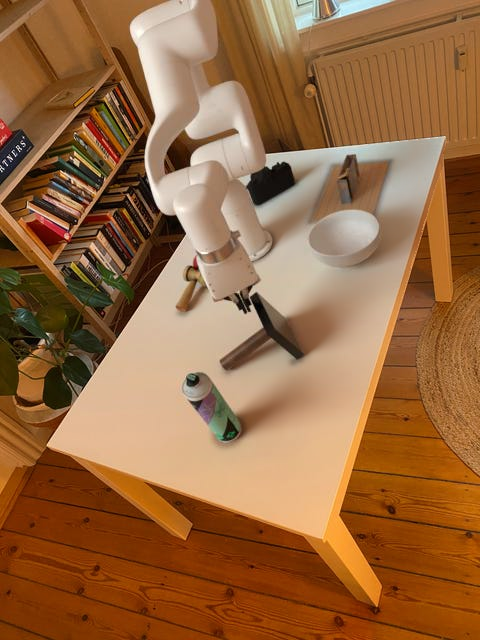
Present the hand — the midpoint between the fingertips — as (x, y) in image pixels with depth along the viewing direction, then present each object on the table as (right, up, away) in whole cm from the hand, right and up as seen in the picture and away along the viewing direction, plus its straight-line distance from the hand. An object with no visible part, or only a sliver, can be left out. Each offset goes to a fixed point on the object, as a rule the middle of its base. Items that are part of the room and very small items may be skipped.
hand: (246, 308), depth 105 cm
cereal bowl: (+25, +14, +15) cm, 33 cm away
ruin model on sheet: (+30, +33, +30) cm, 54 cm away
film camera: (+8, +37, +44) cm, 58 cm away
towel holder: (+3, -10, +4) cm, 11 cm away
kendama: (-12, +6, +26) cm, 29 cm away
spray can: (-4, -25, -6) cm, 26 cm away
